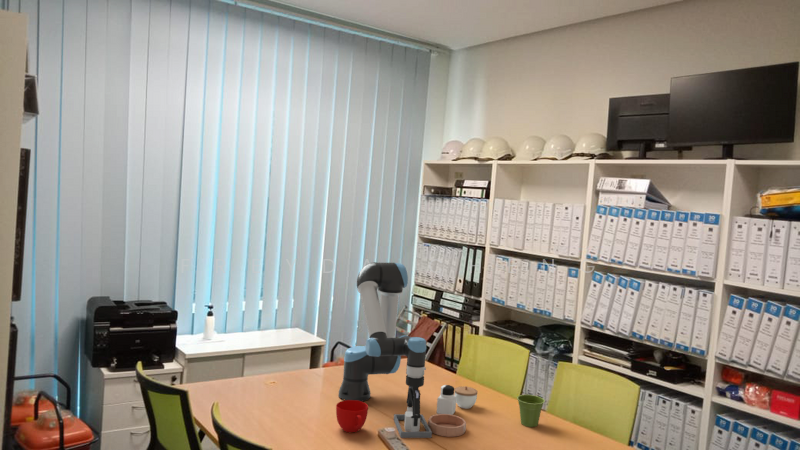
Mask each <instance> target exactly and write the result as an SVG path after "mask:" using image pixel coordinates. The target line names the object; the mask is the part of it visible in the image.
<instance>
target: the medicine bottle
mask: <svg viewBox="0 0 800 450" xmlns="http://www.w3.org/2000/svg"><path fill="white" fill-rule="evenodd" d="M436 400H437V402H436V414H450V415H455V412H456V410H457V409H456V407H457V403H456V396H455V387H454V386H453V385H450V384H444V385H442V386H440V395H439V396H438V397H437V399H436Z"/></svg>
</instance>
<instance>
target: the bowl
mask: <svg viewBox="0 0 800 450" xmlns="http://www.w3.org/2000/svg"><path fill="white" fill-rule="evenodd" d="M427 424H428V426H429V428H430V430H431V432H432V434H435V435H437V436H441V437H449V438H452V437H453V438H454V437H460V436H463V435H464V434H465V432H466V429H467V422H466V420H465V419H464V418H463V417H460V416H458V415H455V414H453V415H450V414H438V413H436V414H433V415H431V416H429V418H428V419H427Z"/></svg>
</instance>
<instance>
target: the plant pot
mask: <svg viewBox="0 0 800 450" xmlns="http://www.w3.org/2000/svg"><path fill="white" fill-rule="evenodd" d="M516 399H517V400H518V401H517V403H518V406H519V415H520V416H519V417H520V424H521V425H523V426H525V427H528V428H533V427H535V428H536V427H538V426H539V421H540V417H541V412H542V408H543V405H544V403H545V401H546V400H545V399H544V398H543V397H541V396H537V395H533V394H521V395H518V396H517V397H516Z"/></svg>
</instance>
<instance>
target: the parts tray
mask: <svg viewBox="0 0 800 450" xmlns="http://www.w3.org/2000/svg"><path fill="white" fill-rule="evenodd" d="M400 421H405V413H403V414H402V413H401V414H400V413H399V414H398V413H394V414H393V422H394V424H395V427H396V430H397V432H398V434H399V437H401V439H403V438H405V439H407V438H408V439H410V438H411V439H414V438H419V439H420V438H424V439H425V438H427V439H428V438H429V439H431V438H432V436H433V435H432V434H433V433H432V432H431V430H430V428H429V426H428V421H427V420H426V418H425V416H424V415H423V414H421V413H420V423H421V424H422V426H423V427H424V429H425V430H424V431H418V432H411V431H403V429H402V427H401V426H402V425H401V424H400Z"/></svg>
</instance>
